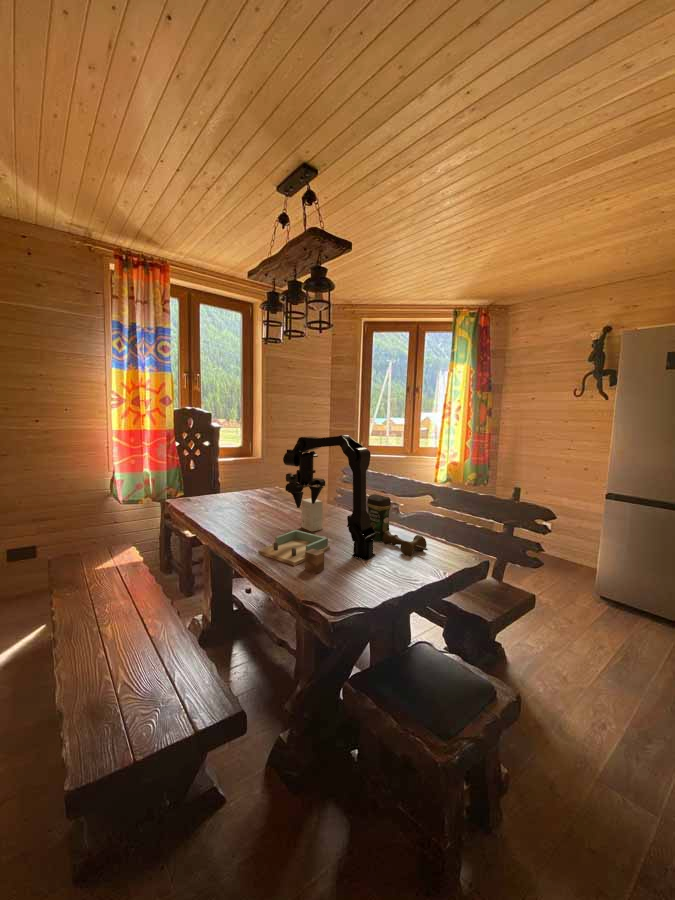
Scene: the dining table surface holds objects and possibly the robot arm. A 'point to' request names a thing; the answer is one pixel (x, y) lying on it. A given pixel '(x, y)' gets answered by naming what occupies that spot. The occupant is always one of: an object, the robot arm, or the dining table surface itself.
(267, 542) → the dining table surface
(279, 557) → the board
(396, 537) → the kendama
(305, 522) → the small box
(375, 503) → the coffee jar
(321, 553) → the block
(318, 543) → the housing
